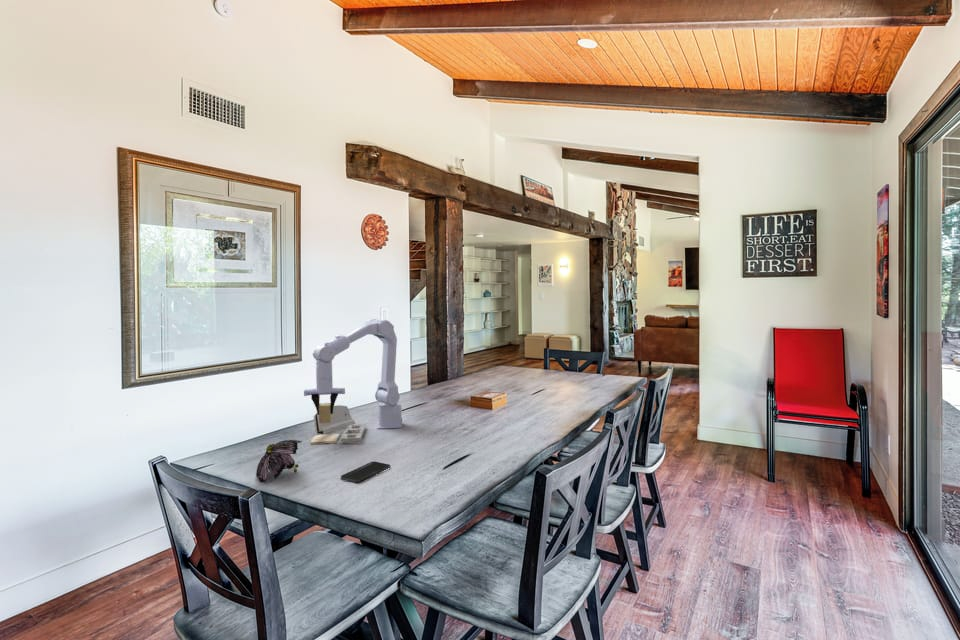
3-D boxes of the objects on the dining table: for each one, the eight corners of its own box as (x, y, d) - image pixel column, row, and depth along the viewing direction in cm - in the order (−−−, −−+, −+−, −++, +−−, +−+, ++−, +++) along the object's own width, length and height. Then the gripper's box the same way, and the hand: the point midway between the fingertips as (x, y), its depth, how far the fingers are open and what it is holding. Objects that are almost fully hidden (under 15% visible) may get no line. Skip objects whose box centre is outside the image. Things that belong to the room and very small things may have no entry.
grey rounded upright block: (323, 434, 193) (317, 409, 194) (316, 436, 195) (309, 412, 197) (356, 424, 207) (349, 401, 208) (348, 426, 209) (342, 403, 211)
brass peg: (330, 422, 184) (330, 405, 183) (319, 423, 183) (318, 405, 183) (331, 419, 188) (331, 402, 187) (320, 420, 187) (320, 403, 187)
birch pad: (339, 435, 191) (339, 433, 191) (335, 443, 182) (335, 441, 182) (315, 436, 190) (315, 434, 190) (310, 444, 181) (310, 442, 181)
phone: (339, 476, 148) (372, 460, 161) (339, 480, 148) (373, 464, 161) (358, 481, 144) (392, 465, 158) (359, 485, 145) (392, 468, 158)
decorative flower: (258, 438, 157) (302, 424, 156) (273, 467, 161) (317, 454, 160) (239, 466, 143) (288, 451, 143) (257, 497, 147) (305, 483, 147)
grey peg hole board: (365, 429, 200) (365, 423, 200) (360, 443, 182) (360, 437, 182) (348, 429, 199) (348, 424, 199) (340, 443, 181) (340, 438, 181)
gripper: (345, 375, 190) (346, 410, 191) (305, 376, 187) (306, 412, 188) (344, 378, 183) (344, 414, 184) (302, 380, 180) (303, 416, 181)
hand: (325, 413), depth 185 cm, fingers closed on brass peg, 4 cm apart
